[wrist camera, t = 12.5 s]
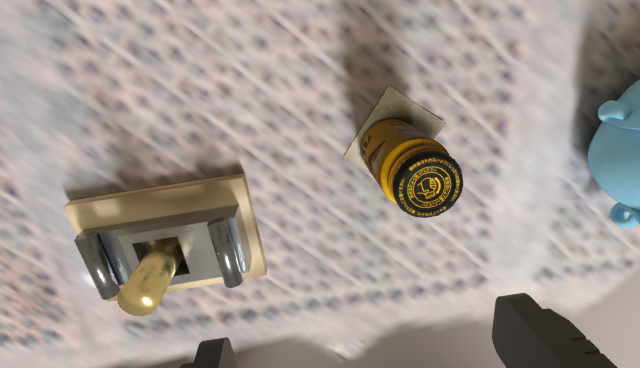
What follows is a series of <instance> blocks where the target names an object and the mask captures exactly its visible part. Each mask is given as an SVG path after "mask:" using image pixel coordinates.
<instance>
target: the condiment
mask: <svg viewBox="0 0 640 368" xmlns="http://www.w3.org/2000/svg"><path fill="white" fill-rule="evenodd" d="M394 113H396V115H393V114H394ZM390 115H392V117H390ZM444 125H445V122H444V121H442V120H441V119H439V118H437V117H436V116H434V115H433V114H431V113H430V112H428V111H427V110H425V109H424V108H422V107H421V106H419V105H418V104H416V103H415V102H413V101H411V100H410V99H408V98H407V97H405V96H404V95H402V94H401V93H399V92H398V91H396V90H395V89H393V88H392V87H390V86H388V88H387V90H386V91H385V93H384V94H383V96H382V97H381V99H380V100H379V102H378V104H377V105H376V107H375V108H374V110H373V112H372V113H371V115H370V116H369V118H368V119H367V121H366V122H365V124H364V125H363V127H362V128H361V130H360V131H359V133H358V135H357V136H356V138H355V139H354V141H353V142H352V144H351V146H350V147H349V149H348V150H347V152H346V154H345V155H344V158H346V159H347V160H349V161H351V162H353V163H355V164H356V165H358V166H360V167H362V168H363V169H365V170H367V171H369V172H370V173H371V174H372V175H373V176H374V178H375V179H376V181H377V182H378V184H379V186H380V187H381V189H382V190H383V192H384V193H385V195H386V196H387V197H388V198H389V199H390V200H391V201H393V202H394V203H396V204H398V205H399V207H400V208H401V209H402V210H403V211H404V212H406V213H407V214H410V215H412V216H415V217H422V218H427V217H433V216H438V215H440V214H441V213H443V212H445V211H446V210H448V209H449V208H451V207H452V206H453V205H454V204H455V202H456V201H457V199H458V198H459V197H460V194H461V192H462V189H463V178H462V173H461V169H460V167H459V165H458V164H457V163H456V161H455V159H453V158H451V157H450V156H449V153H448V152H447V150H446V149H445V148H444V147H443V146H442V145H441V144H440V143H439V142H437V141H435V140H433V139H434V138H435V137H436V135H437V134H438V133H439V132H440V130H441V129H442V127H443V126H444Z"/></svg>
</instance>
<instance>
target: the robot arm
mask: <svg viewBox="0 0 640 368" xmlns="http://www.w3.org/2000/svg"><path fill="white" fill-rule="evenodd" d="M492 339H493V344H494V347H495V350H496V352H497V354H498V356H499V357H500V359H501V360H502V362H503V363H504V365H505V366H506V368H617V367H616V366H615V365H614V364H613V363H612V362H611V361H610V360H609V359H608V358H607V357H606V356H605V355H604V354H601V353H600V351H599V349H598V348H597V347H596V346H595V345H594V344H593V343H592V342H591V341H590V340H587V339H586V337H585V336H584V335H583V334H582V333H581V332H580V331H579V330H578V329H577V328H576V327H575V326H574V325H573V324H572V323H571V322H570V321H569V320H567V319H566V318H564V317H562V316H561V315H559V314H557V313H556V312H554V311H552V310H551V309H542V308H541V307H540V306H539V305H538V304H537V303H536V302H535V301H534V300H533V299H532V298H531V297H530V296H529V295H528V294H526V293H520V294H513V295H506V296H500V297H498V298H497V299H496V303H495V312H494V321H493V331H492ZM180 368H238V367H237V363H236V360H235V356H234V353H233V350H232V346H231V343H230V340H229V338H228V337H226V338H220V339H213V340H207V341H202V342H201V343H200V344H199V347H198V350H197V353H196V357H195V360H194V363H188V364H182V366H181V367H180Z"/></svg>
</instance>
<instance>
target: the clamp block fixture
mask: <svg viewBox="0 0 640 368" xmlns="http://www.w3.org/2000/svg"><path fill="white" fill-rule="evenodd" d="M63 207H64V209H65V211H66V213H67V215H68V217H69V220H70V222H71V224H72V226H73V228H74V230H75V232H76V234H77V236H76V239H75V243H76V245H77V247H78V250H79V252H80V254H81V256H82V258H83V260H84V262H85V264H86V266H87V268H88V271H89V273H90V275H91V277H92V279H93V281H94V283H95V285H96V287H97V289H98V291H99V294H100V296H101V298H102V299H104V300H108V301H114V300H117V296H118V293H119V291H120V290H121V289H122V287H123V286H124V284H125V283H126V282H127V280H128V279H129V277H130V276H131V274H132V273H133V272H134V270H135V269H136V267H137V266H138V265H139V263H140V262H141V260H142V259H143V258H144V256H145V255H146V253H147V252H148V251H149V249H150V248H151V246H152V245H153V244H154V242H155V241H156V240H157V239H163V238H170V237H176V236H178V239H179V242H180V245H181V248H182V251H183V254H184V256H183V258H182V260H181V262H180V264H179V266H178V268H177V270H176V272H175V274H174V276H173V277H172V279H171V281H170V283H169V285H168V287H167V289H166V291H165V292H168V291H174V290H180V289H186V288H192V287H198V286H204V285H210V284H216V283H222V282H224V284H225V286H226V287H228V288H233V287H236V286H238V285H240V284H241V283H242V281H243V279H246V278H252V277H258V276H264V275H266V273H267V265H266V261H265V256H264V252H263V248H262V244H261V240H260V235H259V231H258V227H257V223H256V219H255V214H254V210H253V206H252V202H251V198H250V193H249V189H248V185H247V181H246V177H245V173H240V174H234V175H228V176H221V177H215V178H209V179H203V180H196V181H190V182H184V183H178V184H171V185H165V186H159V187H152V188H146V189H140V190H134V191H127V192H121V193H115V194H109V195H102V196H96V197H90V198H84V199H77V200H72V201H71V202H69V203H68V204H66V205H65V206H63Z"/></svg>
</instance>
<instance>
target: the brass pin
mask: <svg viewBox="0 0 640 368" xmlns="http://www.w3.org/2000/svg"><path fill="white" fill-rule="evenodd" d="M183 256H184V254H183V251H182V248H181V245H180V242H179V239H178V236H176V237H170V238H163V239H157V240H156V241H155V242H154V244H153V245H152V246H151V248H150V249H149V251H148V252H147V253H146V255H145V256H144V258H143V259H142V260H141V262H140V263H139V265H138V266H137V267H136V269H135V270H134V272H133V273H132V274H131V276H130V277H129V279H128V280H127V282H126V283H125V284H124V286H123V287H122V289H121V290H120V291H119V293H118V296H117V301H118V304H119V306H120V307H121V308H122V309H123V310H124V311H125V312H127V313H129V314H131V315H135V316H145V315H149V314H151V313H152V312H154V311H155V310H156V308H157V306H158V304H159V302H160V301H161V299H162V297H163V295H164V293H165V291H166V289H167V287H168V285H169V283H170V281H171V279H172V277H173V276H174V274H175V272H176V270H177V268H178V266H179V264H180V262H181V260H182V258H183Z"/></svg>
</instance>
